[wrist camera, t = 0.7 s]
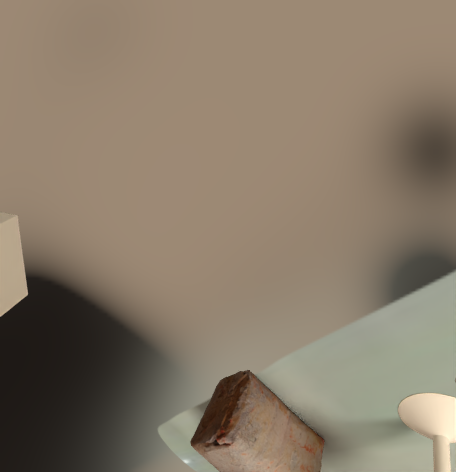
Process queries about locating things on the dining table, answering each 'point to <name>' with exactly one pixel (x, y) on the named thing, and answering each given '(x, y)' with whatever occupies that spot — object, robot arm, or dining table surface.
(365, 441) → the dining table surface
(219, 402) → the food item
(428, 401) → the champagne flute
